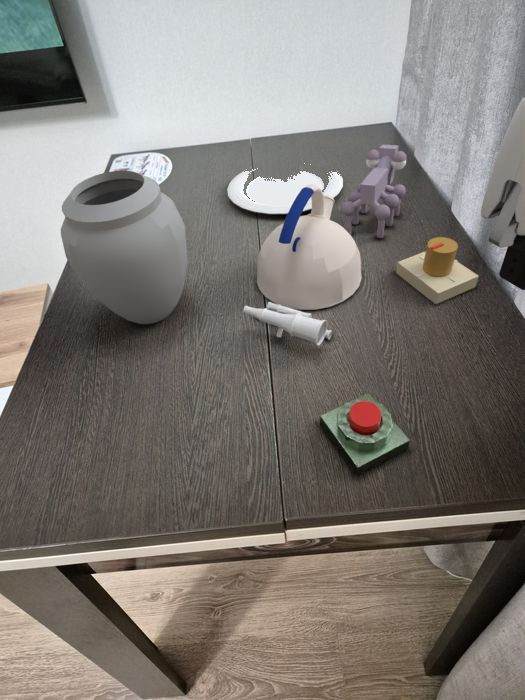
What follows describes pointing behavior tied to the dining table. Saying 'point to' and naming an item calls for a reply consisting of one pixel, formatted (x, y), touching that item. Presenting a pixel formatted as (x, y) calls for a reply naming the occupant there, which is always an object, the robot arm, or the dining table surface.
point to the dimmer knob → (440, 256)
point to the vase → (126, 244)
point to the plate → (278, 191)
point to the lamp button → (364, 417)
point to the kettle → (309, 257)
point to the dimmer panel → (436, 279)
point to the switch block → (363, 437)
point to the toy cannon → (292, 322)
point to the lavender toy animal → (377, 189)
